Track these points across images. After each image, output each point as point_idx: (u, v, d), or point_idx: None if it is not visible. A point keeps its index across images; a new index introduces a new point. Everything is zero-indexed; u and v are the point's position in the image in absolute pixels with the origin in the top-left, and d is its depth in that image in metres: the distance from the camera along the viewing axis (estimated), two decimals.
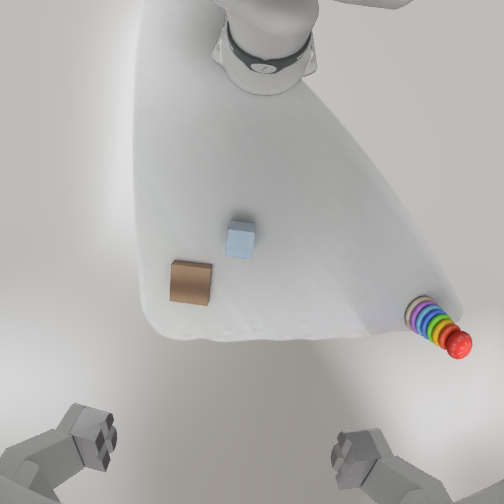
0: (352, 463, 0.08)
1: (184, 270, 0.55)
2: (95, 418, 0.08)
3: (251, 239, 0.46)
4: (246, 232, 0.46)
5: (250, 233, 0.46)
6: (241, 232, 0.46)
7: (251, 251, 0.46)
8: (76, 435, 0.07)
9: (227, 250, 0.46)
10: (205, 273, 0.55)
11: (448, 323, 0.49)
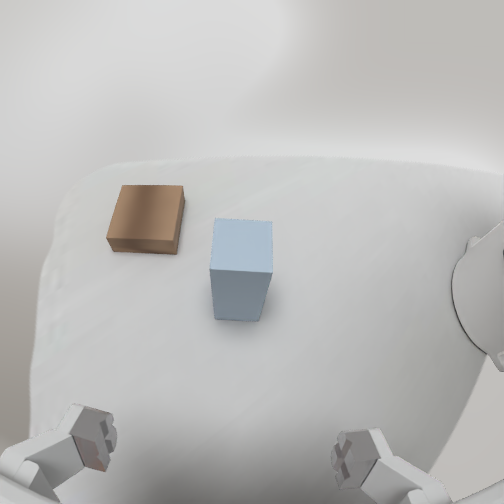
0: (352, 463, 0.08)
1: (171, 202, 0.32)
2: (95, 418, 0.08)
3: (256, 265, 0.20)
4: (270, 255, 0.21)
5: (269, 262, 0.20)
6: (269, 245, 0.21)
7: (228, 267, 0.20)
8: (76, 435, 0.07)
9: (227, 222, 0.22)
10: (164, 232, 0.30)
11: None
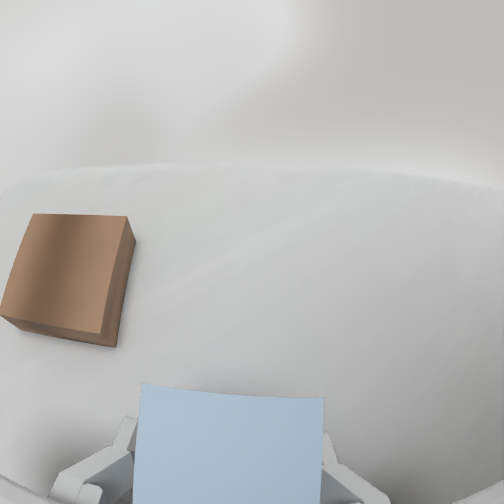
0: None
1: (103, 251, 0.16)
2: None
3: None
4: None
5: None
6: (312, 480, 0.05)
7: None
8: None
9: (180, 401, 0.06)
10: (86, 315, 0.14)
11: None
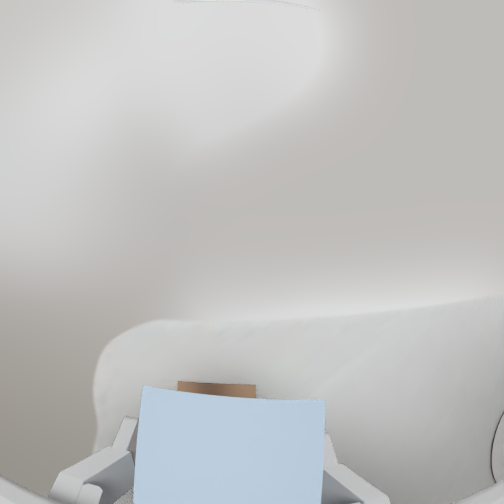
0: None
1: None
2: None
3: None
4: None
5: None
6: (313, 483, 0.05)
7: None
8: (135, 451, 0.07)
9: (181, 403, 0.06)
10: None
11: None
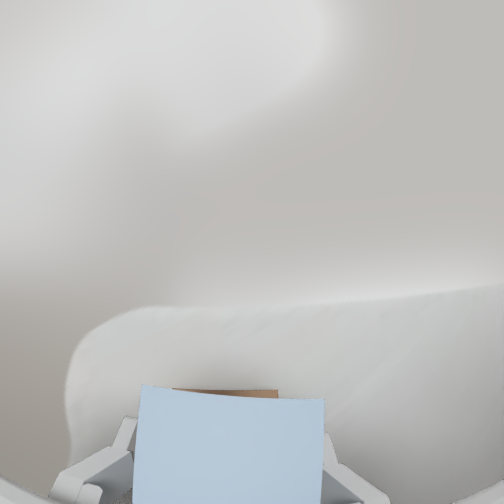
0: None
1: None
2: None
3: None
4: None
5: None
6: (312, 482, 0.05)
7: None
8: None
9: (180, 402, 0.06)
10: None
11: None
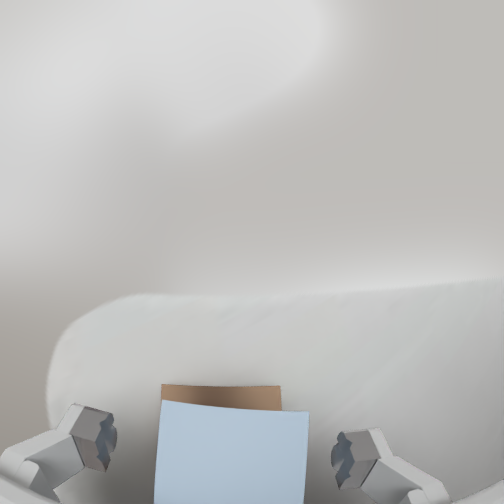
0: (352, 463, 0.08)
1: None
2: (95, 418, 0.08)
3: None
4: (298, 499, 0.06)
5: None
6: (298, 477, 0.07)
7: None
8: (76, 435, 0.07)
9: (193, 414, 0.07)
10: None
11: None
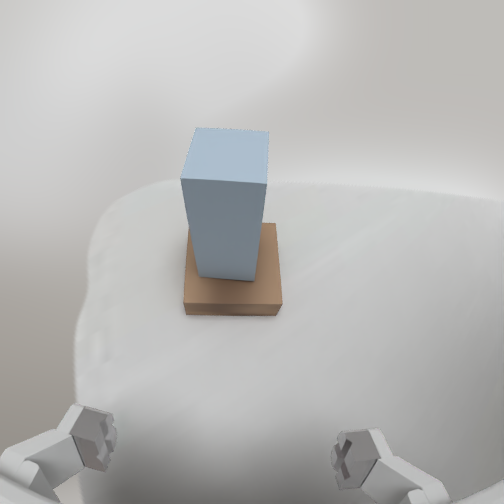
0: (352, 463, 0.08)
1: (267, 248, 0.25)
2: (95, 418, 0.08)
3: (244, 175, 0.14)
4: (265, 165, 0.15)
5: (263, 172, 0.14)
6: (263, 154, 0.15)
7: (205, 175, 0.14)
8: (76, 435, 0.07)
9: (211, 131, 0.16)
10: (269, 293, 0.23)
11: None
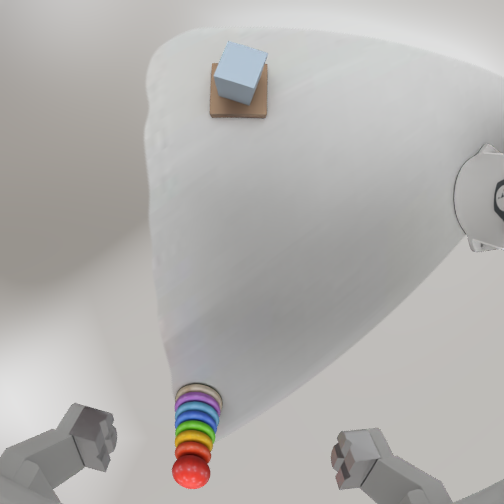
0: (352, 463, 0.08)
1: (260, 80, 0.35)
2: (95, 418, 0.08)
3: (244, 80, 0.26)
4: (257, 76, 0.26)
5: (254, 81, 0.26)
6: (259, 69, 0.26)
7: (226, 77, 0.26)
8: (76, 435, 0.07)
9: (235, 45, 0.25)
10: (259, 108, 0.36)
11: (209, 447, 0.38)
